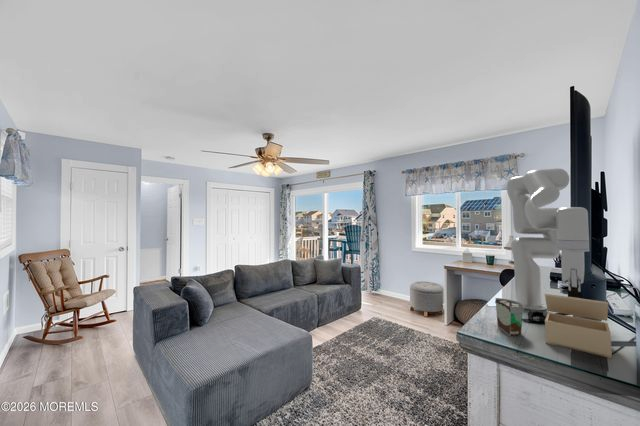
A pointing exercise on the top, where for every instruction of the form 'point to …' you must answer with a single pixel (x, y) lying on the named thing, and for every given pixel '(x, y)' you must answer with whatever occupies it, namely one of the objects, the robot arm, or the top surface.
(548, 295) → the lid
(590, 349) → the carton
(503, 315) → the food container
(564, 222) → the robot arm
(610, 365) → the top surface
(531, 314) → the black box
